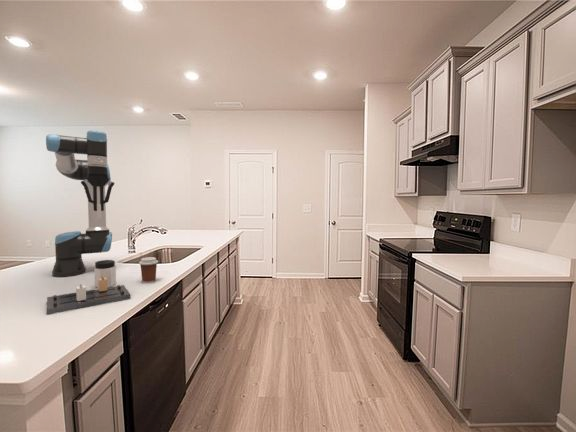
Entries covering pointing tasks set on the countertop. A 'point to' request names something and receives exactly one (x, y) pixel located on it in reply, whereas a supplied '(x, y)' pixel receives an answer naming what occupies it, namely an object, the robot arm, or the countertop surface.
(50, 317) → the countertop surface
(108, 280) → the jar
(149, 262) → the coffee cup
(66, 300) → the console
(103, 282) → the block
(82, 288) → the fader
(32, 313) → the countertop surface
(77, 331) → the countertop surface
